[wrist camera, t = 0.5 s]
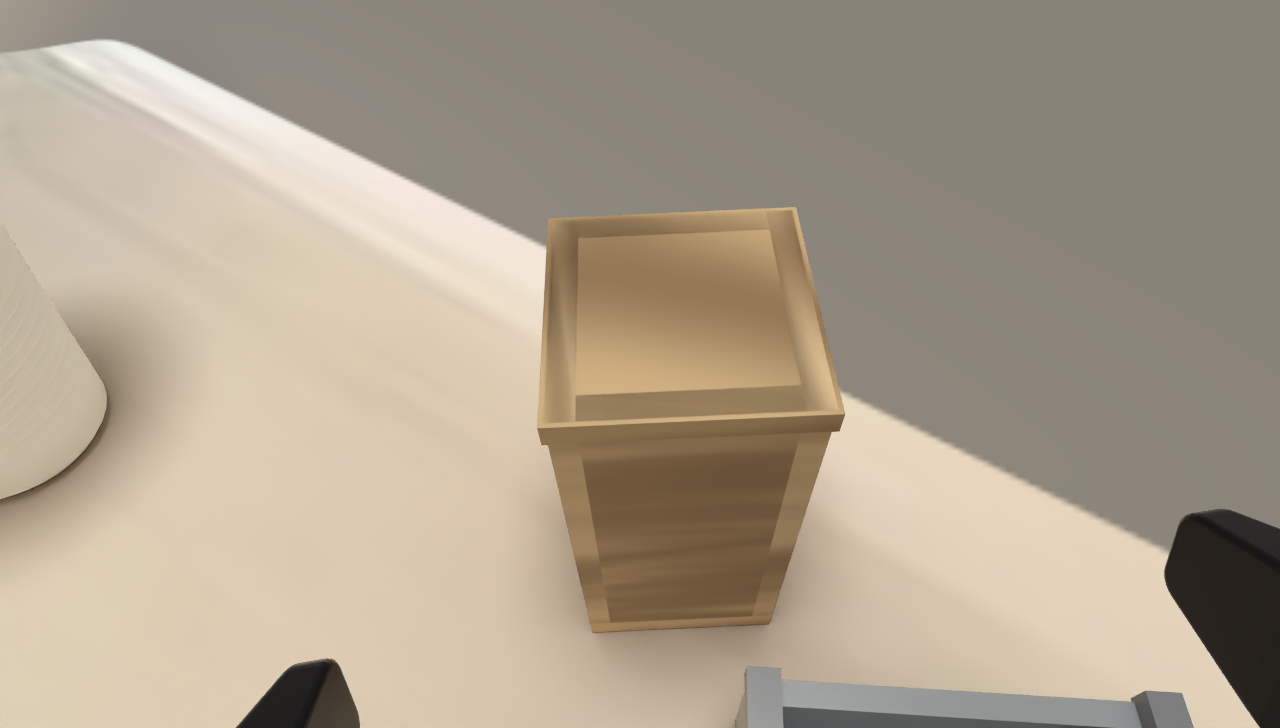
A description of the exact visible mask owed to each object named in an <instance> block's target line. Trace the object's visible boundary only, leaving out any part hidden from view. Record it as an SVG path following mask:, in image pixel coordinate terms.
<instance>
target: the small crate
mask: <svg viewBox="0 0 1280 728" xmlns="http://www.w3.org/2000/svg"><path fill="white" fill-rule="evenodd" d="M844 416H845V411H844V407H843V403H842V399H841V394H840V390H839V386H838V382H837V378H836V374H835V369H834V365H833V361H832V357H831V353H830V348H829V345H828V340H827V336H826V332H825V328H824V324H823V319H822V315H821V311H820V307H819V302H818V299H817V294H816V290H815V286H814V282H813V278H812V273H811V269H810V265H809V261H808V257H807V253H806V248H805V244H804V240H803V236H802V231H801V227H800V223H799V219H798V215H797V211H796V207H788V208H767V209H746V210H745V209H744V210H722V211H701V212H680V213H659V214H658V213H657V214H638V215H637V214H636V215H614V216H593V217H571V218H552V219H551V218H550V219H548V233H547V252H546V272H545V291H544V310H543V330H542V349H541V368H540V387H539V407H538V426H537V429H538V433H539V437H540V441H541V445H548V447H549V451H550V455H551V459H552V464H553V468H554V472H555V476H556V480H557V485H558V489H559V493H560V497H561V501H562V506H563V510H564V514H565V518H566V523H567V527H568V531H569V535H570V539H571V544H572V548H573V552H574V556H575V560H576V565H577V569H578V573H579V577H580V581H581V586H582V590H583V594H584V598H585V602H586V607H587V611H588V615H589V619H590V624H591V628H592V632H610V631H631V630H653V629H674V628H696V627H717V626H738V625H760V624H769V623H770V620H771V617H772V614H773V611H774V608H775V604H776V601H777V598H778V595H779V592H780V589H781V586H782V583H783V580H784V577H785V574H786V571H787V568H788V564H789V561H790V558H791V555H792V552H793V549H794V546H795V543H796V540H797V537H798V534H799V531H800V528H801V524H802V521H803V518H804V515H805V512H806V509H807V506H808V503H809V500H810V497H811V494H812V491H813V488H814V484H815V481H816V478H817V475H818V472H819V469H820V466H821V463H822V460H823V457H824V454H825V451H826V448H827V444H828V441H829V438H830V435H831V432H836V431H840V428H841V425H842V422H843V419H844Z"/></svg>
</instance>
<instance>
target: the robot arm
mask: <svg viewBox="0 0 1280 728" xmlns="http://www.w3.org/2000/svg"><path fill="white" fill-rule="evenodd" d="M1164 578H1165V582H1166V585H1167V588H1168V590H1169V592H1170V594H1171V596H1172V597H1173V599H1174V600H1175V602H1176V603H1177V605H1178V606H1179V608H1180V609H1181V611H1182V612H1183V614H1184V615H1185V617H1186V618H1187V620H1188V621H1189V623H1190V624H1191V626H1192V628H1193V629H1194V631H1195V632H1196V634H1197V635H1198V637H1199V638H1200V640H1201V641H1202V643H1203V644H1204V646H1205V647H1206V649H1207V650H1208V652H1209V653H1210V655H1211V656H1212V658H1213V659H1214V661H1215V662H1216V664H1217V665H1218V667H1219V668H1220V670H1221V671H1222V673H1223V674H1224V676H1225V677H1226V679H1227V680H1228V682H1229V683H1230V685H1231V686H1232V688H1233V689H1234V691H1235V692H1236V694H1237V695H1238V697H1239V698H1240V700H1241V701H1242V703H1243V704H1244V706H1245V707H1246V709H1247V710H1248V711H1249V713H1250V714H1251V716H1252V717H1253V719H1254V720H1255V721H1256V723H1257V724H1258V726H1259V727H1260V728H1280V529H1279V528H1276V527H1273V526H1271V525H1268V524H1266V523H1263V522H1260V521H1258V520H1255V519H1252V518H1250V517H1247V516H1245V515H1242V514H1239V513H1237V512H1234V511H1231V510H1226V509H1215V510H1209V511H1203V512H1198V513H1191V514H1188V515H1186V516H1185V517H1184V518H1183V519H1181V521H1180V522H1179V525H1178V527H1177V531H1176V534H1175V537H1174V540H1173V543H1172V547H1171V550H1170V553H1169V556H1168V559H1167V562H1166V566H1165V570H1164ZM236 728H360V722H359V715H358V711H357V708H356V706H355V703H354V701H353V698H352V696H351V693H350V691H349V688H348V686H347V683H346V681H345V678H344V676H343V673H342V671H341V668H340V667H339V665H338V663H337V662H336V661H335V660H333V659H328V658H327V659H321V660H315V661H309V662H303V663H298V664H295V665H292V666H291V667H289V668H288V669H287V670H286V671H285V672H284V673H283V674H282V675H281V676H280V677H279V679H278V680H277V681H276V682H275V683H274V684H273V685H272V687H271V688H270V689H269V690H268V691H267V692H266V694H265V695H264V696H263V697H262V698H261V699H260V701H259V702H258V703H257V704H256V705H255V706H254V707H253V709H252V710H251V711H250V712H249V713H248V714H247V716H246V717H245V718H244V719H243V720H242V721H241V722H240V724H239V725H238V726H237V727H236Z"/></svg>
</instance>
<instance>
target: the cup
mask: <svg viewBox="0 0 1280 728" xmlns="http://www.w3.org/2000/svg"><path fill="white" fill-rule="evenodd" d="M106 407H107V394H106V390H105V387H104V384H103V382H102V380H101V379H100V377H99V376H98V374H97V372H96V371H95V369H94V368H93V366H92V365H91V363H90V361H89V360H88V358H87V357H86V355H85V353H84V352H83V350H82V349H81V347H80V346H79V344H78V343H77V342H76V340H75V338H74V337H73V335H72V334H71V332H70V330H69V329H68V327H67V326H66V324H65V323H64V321H63V319H62V318H61V316H60V315H59V313H58V311H57V310H56V308H55V307H54V305H53V304H52V302H51V300H50V299H49V297H48V296H47V294H46V293H45V291H44V289H43V288H42V286H41V285H40V283H39V282H38V280H37V278H36V277H35V275H34V274H33V272H32V271H31V269H30V267H29V266H28V264H27V263H26V261H25V260H24V258H23V256H22V254H21V253H20V252H19V250H18V249H17V247H16V244H15V243H14V241H13V240H12V238H11V236H10V235H9V233H8V232H7V230H6V229H5V227H4V225H3V224H2V222H1V221H0V499H3V498H6V497H9V496H12V495H15V494H18V493H21V492H24V491H26V490H29V489H31V488H33V487H35V486H37V485H40V484H42V483H44V482H46V481H47V480H49V479H50V478H52V477H54V476H55V475H57V474H59V473H60V472H61V471H62V470H64V469H65V468H66V467H67V466H69V465H70V464H71V463H73V462H74V461H75V460H76V459H77V457H78V456H79V455H80V454H81V453H82V452H83V451H84V450H85V449H86V448H87V446H88V445H89V444H90V442H91V441H92V439H93V438H94V436H95V434H96V433H97V431H98V429H99V427H100V425H101V423H102V421H103V418H104V414H105V411H106Z"/></svg>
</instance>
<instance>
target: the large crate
mask: <svg viewBox="0 0 1280 728" xmlns="http://www.w3.org/2000/svg"><path fill="white" fill-rule="evenodd" d="M744 677H745V692H744V695H743V699H742V702H741V705H740V708H739V711H738V714H737V718H736V728H1194V727H1193V724H1192V721H1191V718H1190V715H1189V712H1188V710H1187V707H1186V704H1185V701H1184V698H1183V695H1182V693H1174V692H1157V691H1144V692H1142V693H1140V694H1138V695H1137V696H1135V697H1133V698H1131V701H1132V702H1127V701H1111V700H1095V699H1079V698H1063V697H1047V696H1031V695H1015V694H999V693H983V692H967V691H951V690H935V689H919V688H903V687H887V686H871V685H855V684H839V683H823V682H807V681H791V680H781V668H767V667H751V666H747V668H746V671H745V674H744Z"/></svg>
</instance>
